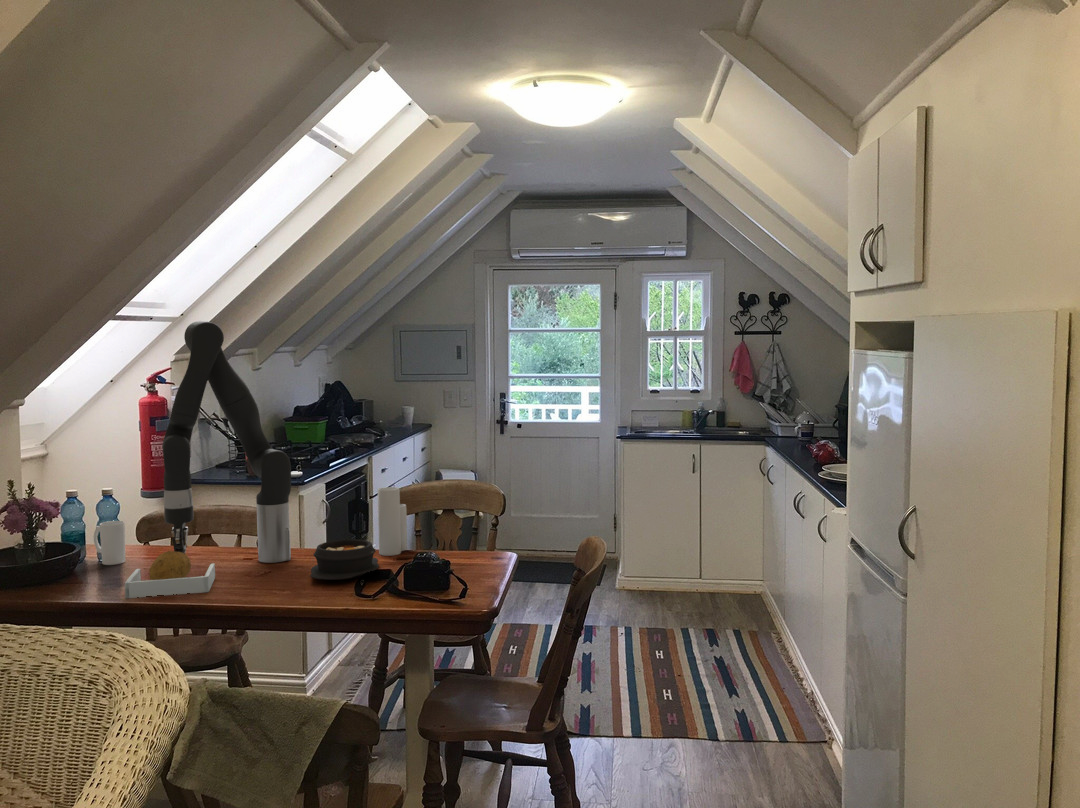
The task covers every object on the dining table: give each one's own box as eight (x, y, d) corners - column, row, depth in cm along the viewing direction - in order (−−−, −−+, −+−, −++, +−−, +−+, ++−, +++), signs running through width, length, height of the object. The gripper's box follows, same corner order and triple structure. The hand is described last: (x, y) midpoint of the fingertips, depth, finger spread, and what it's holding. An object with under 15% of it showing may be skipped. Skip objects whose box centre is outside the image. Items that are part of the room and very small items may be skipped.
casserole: (359, 587, 228) (358, 556, 227) (293, 585, 231) (292, 554, 230) (392, 564, 252) (392, 536, 252) (332, 562, 255) (331, 534, 255)
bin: (215, 577, 240) (214, 563, 239) (208, 592, 225) (208, 576, 225) (136, 583, 235) (136, 568, 234) (125, 598, 220) (124, 583, 220)
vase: (396, 556, 262) (395, 490, 261) (374, 555, 264) (372, 490, 262) (409, 547, 273) (408, 484, 272) (387, 547, 275) (386, 484, 273)
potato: (135, 556, 226) (167, 554, 224) (167, 548, 239) (197, 545, 237) (139, 593, 226) (170, 591, 224) (170, 582, 239) (200, 580, 237)
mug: (131, 560, 261) (129, 521, 261) (115, 565, 255) (113, 525, 254) (103, 558, 264) (101, 520, 263) (86, 564, 257) (84, 524, 257)
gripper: (190, 508, 237) (193, 570, 238) (195, 500, 250) (197, 559, 251) (160, 510, 235) (163, 572, 236) (167, 502, 248) (170, 561, 249)
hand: (181, 565), depth 243 cm, fingers closed
